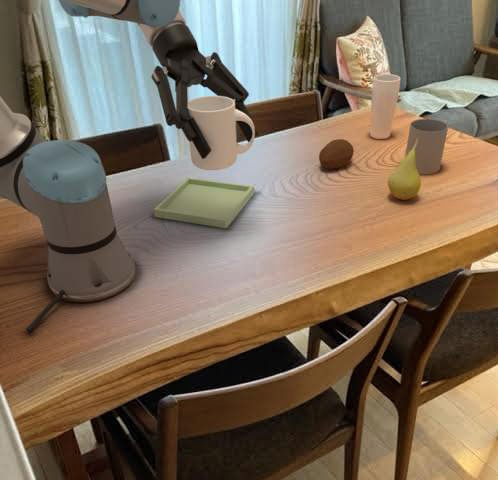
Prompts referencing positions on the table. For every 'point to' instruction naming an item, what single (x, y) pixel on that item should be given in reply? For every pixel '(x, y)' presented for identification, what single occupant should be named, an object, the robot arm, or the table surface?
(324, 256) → the table surface
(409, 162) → the fruit
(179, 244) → the table surface
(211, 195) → the tray
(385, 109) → the drinking glass
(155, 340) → the table surface
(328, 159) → the potato
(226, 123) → the mug
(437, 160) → the cup
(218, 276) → the table surface
